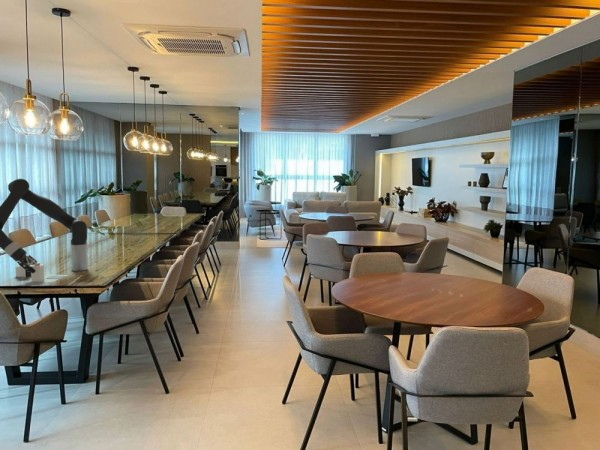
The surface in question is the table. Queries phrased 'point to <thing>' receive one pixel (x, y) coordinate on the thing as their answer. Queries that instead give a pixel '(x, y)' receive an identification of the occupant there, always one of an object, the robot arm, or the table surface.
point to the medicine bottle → (22, 272)
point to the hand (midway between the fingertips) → (37, 270)
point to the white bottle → (37, 272)
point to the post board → (50, 278)
